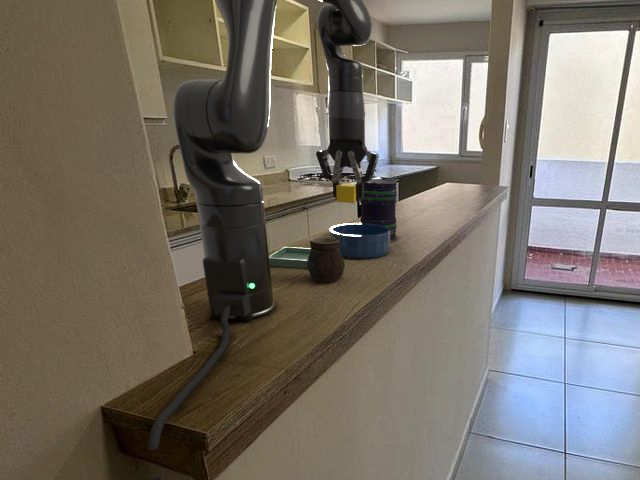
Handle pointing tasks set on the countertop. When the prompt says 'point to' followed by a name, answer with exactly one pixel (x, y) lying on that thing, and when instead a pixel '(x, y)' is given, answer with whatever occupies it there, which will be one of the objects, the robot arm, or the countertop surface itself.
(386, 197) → the storage jar
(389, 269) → the countertop surface
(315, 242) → the mate gourd
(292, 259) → the soap dish
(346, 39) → the robot arm
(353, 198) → the sponge
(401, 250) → the countertop surface
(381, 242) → the bowl
